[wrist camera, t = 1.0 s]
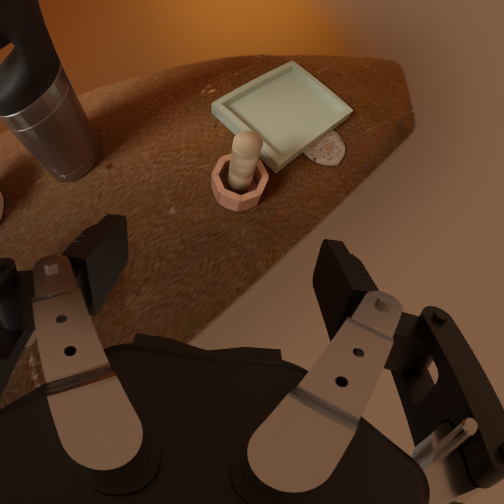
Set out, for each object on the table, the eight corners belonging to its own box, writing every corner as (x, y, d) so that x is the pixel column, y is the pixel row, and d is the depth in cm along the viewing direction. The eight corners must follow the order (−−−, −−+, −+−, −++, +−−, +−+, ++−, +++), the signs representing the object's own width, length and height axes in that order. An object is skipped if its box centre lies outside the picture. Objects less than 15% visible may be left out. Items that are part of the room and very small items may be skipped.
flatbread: (286, 139, 43) (288, 135, 42) (318, 118, 45) (319, 114, 44) (324, 177, 43) (326, 174, 42) (353, 152, 44) (355, 149, 43)
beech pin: (223, 180, 39) (228, 134, 29) (243, 174, 40) (255, 127, 29) (231, 200, 39) (240, 158, 28) (252, 193, 40) (267, 150, 29)
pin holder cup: (205, 175, 40) (205, 161, 36) (250, 161, 41) (254, 146, 37) (223, 218, 39) (225, 207, 35) (269, 201, 40) (275, 189, 36)
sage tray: (275, 173, 41) (279, 165, 39) (211, 113, 42) (211, 103, 40) (347, 118, 46) (353, 110, 43) (289, 69, 47) (292, 60, 44)
